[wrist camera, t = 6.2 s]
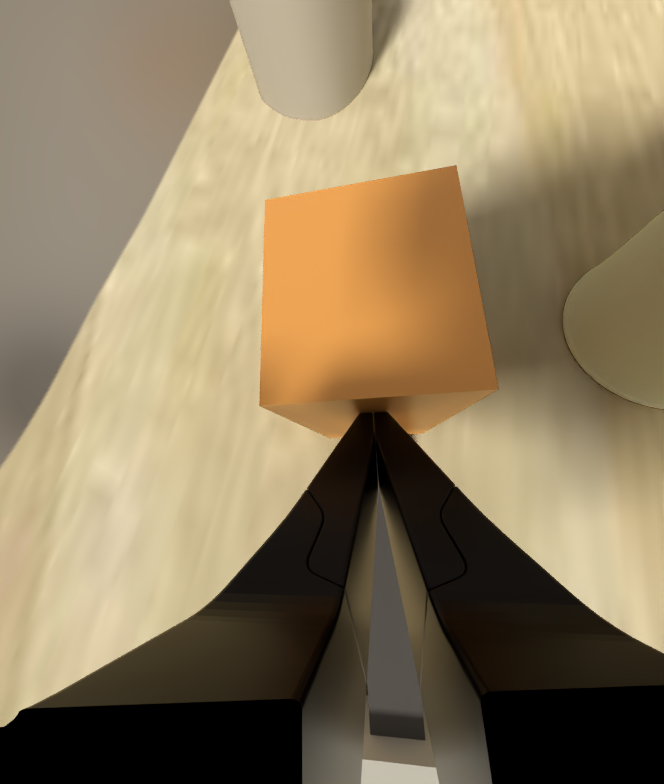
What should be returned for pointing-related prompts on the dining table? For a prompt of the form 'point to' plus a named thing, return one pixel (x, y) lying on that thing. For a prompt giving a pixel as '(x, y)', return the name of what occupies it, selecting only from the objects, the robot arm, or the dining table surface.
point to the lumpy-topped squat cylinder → (307, 52)
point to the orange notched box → (372, 305)
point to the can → (623, 319)
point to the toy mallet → (392, 684)
